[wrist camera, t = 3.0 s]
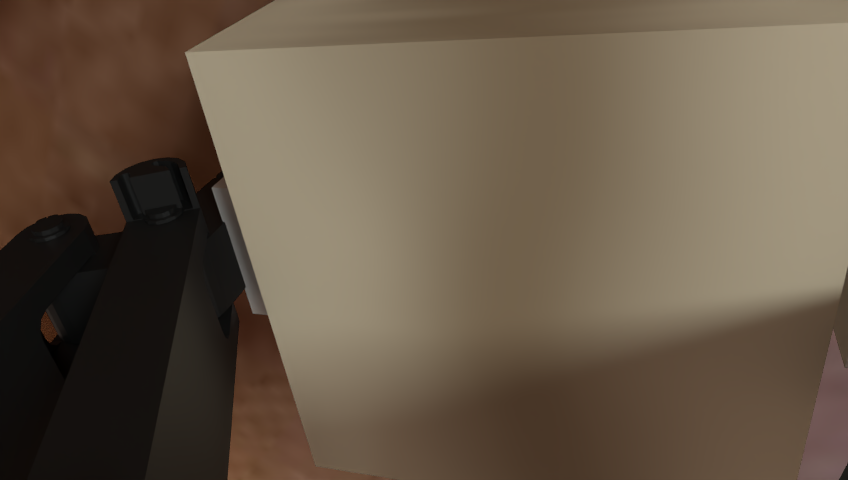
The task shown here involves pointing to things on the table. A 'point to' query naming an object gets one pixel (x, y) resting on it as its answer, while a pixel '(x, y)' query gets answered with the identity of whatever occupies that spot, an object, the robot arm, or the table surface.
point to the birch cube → (542, 228)
